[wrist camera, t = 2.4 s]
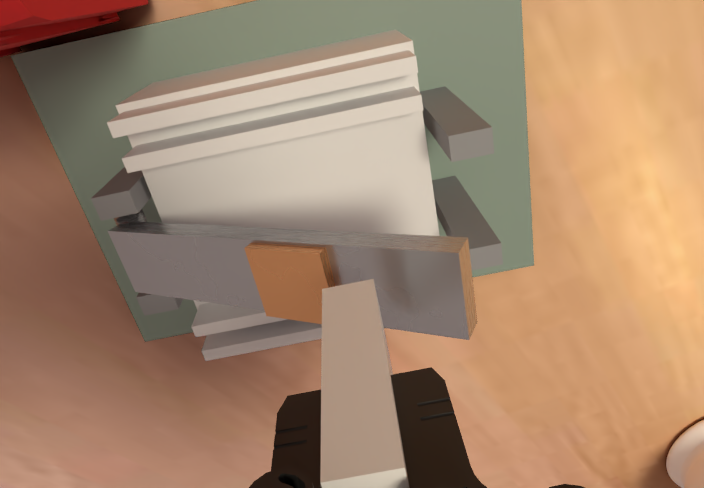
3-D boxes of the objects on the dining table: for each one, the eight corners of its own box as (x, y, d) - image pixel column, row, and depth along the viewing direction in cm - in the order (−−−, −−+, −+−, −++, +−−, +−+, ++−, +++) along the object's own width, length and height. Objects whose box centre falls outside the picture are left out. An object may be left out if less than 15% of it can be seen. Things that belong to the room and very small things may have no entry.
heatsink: (150, 330, 33) (93, 447, 25) (23, 52, 26) (-121, 87, 17) (526, 255, 32) (598, 352, 24) (509, -57, 25) (606, -75, 16)
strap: (157, 272, 25) (120, 299, 23) (129, 207, 23) (88, 230, 21) (485, 310, 17) (466, 353, 16) (475, 217, 16) (453, 254, 14)
